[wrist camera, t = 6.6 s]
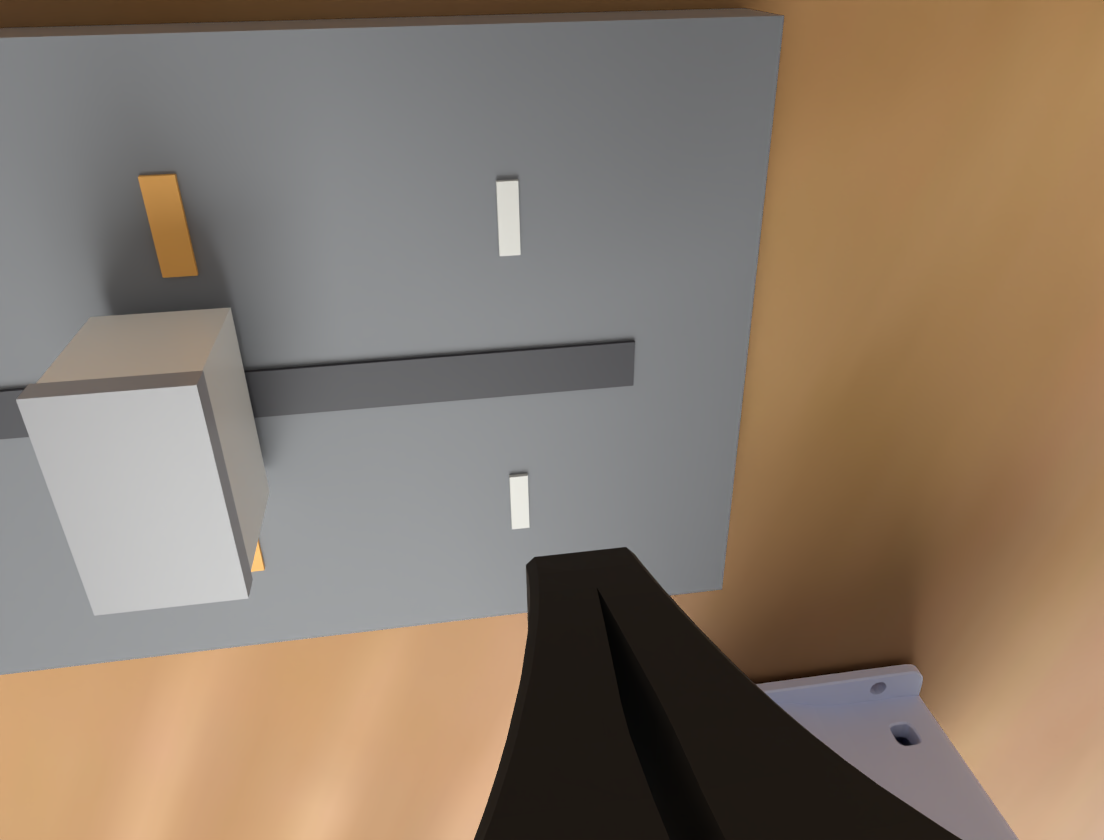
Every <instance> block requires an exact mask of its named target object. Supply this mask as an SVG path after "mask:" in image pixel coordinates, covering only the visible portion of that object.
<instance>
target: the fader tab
mask: <svg viewBox="0 0 1104 840" xmlns="http://www.w3.org/2000/svg"><path fill="white" fill-rule="evenodd" d="M16 401H17V404H18V407H19V410H20V412H21V415H22V418H23V421H24V423H25V426H26V429H27V432H28V434H29V437H30V440H31V443H32V445H33V448H34V451H35V454H36V456H37V459H38V462H39V465H40V467H41V470H42V473H43V476H44V478H45V481H46V484H47V487H48V489H49V492H50V495H51V498H52V500H53V503H54V506H55V509H56V511H57V514H58V517H59V520H60V522H61V525H62V528H63V531H64V533H65V536H66V539H67V542H68V544H69V547H70V550H71V553H72V555H73V558H74V561H75V564H76V566H77V569H78V572H79V575H80V577H81V580H82V583H83V586H84V588H85V591H86V594H87V597H88V599H89V602H90V605H91V608H92V610H93V613H94V616H96V615H105V614H114V613H123V612H132V611H141V610H150V609H159V608H168V607H176V606H185V605H194V604H203V603H212V602H221V601H230V600H239V599H248V598H249V594H250V590H251V586H252V581H253V578H252V574H251V569H252V564H253V560H254V556H255V551H256V547H257V543H258V538H259V534H260V530H261V526H262V521H263V517H264V513H265V508H266V504H267V500H268V495H269V487H268V482H267V477H266V472H265V468H264V463H263V458H262V453H261V449H260V444H259V439H258V435H257V430H256V425H255V420H254V416H253V411H252V406H251V401H250V397H249V392H248V387H247V382H246V378H245V373H244V368H243V364H242V359H241V354H240V349H239V345H238V340H237V335H236V330H235V326H234V321H233V316H232V312H231V307H230V308H215V309H201V310H186V311H172V312H157V313H143V314H128V315H113V316H99V317H90V318H89V319H88V320H87V322H86V323H85V324H84V325H83V327H82V328H81V329H80V330H79V331H78V333H77V334H76V335H75V336H74V338H73V339H72V340H71V341H70V343H69V344H68V345H67V346H66V347H65V349H64V350H63V351H62V352H61V354H60V355H59V356H58V357H57V358H56V360H55V361H54V362H53V363H52V365H51V366H50V367H49V368H48V369H47V371H46V372H45V373H44V374H43V376H42V377H41V378H40V379H39V381H38V382H37V383H36V384H28V386H27V387H26V388H25V389H24V390H23V392H22V393H21V394H20V395H19V396H18V398H17V399H16Z"/></svg>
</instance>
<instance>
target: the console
mask: <svg viewBox="0 0 1104 840" xmlns="http://www.w3.org/2000/svg"><path fill="white" fill-rule="evenodd" d="M783 23H784V16H783V15H778V14H773V13H768V12H762V11H757V10H752V9H747V8H727V9H689V10H652V11H615V12H578V13H540V14H503V15H466V16H429V17H391V18H354V19H317V20H280V21H242V22H205V23H168V24H130V25H93V26H56V27H19V28H0V675H3V674H12V673H20V672H29V671H37V670H46V669H54V668H62V667H71V666H79V665H88V664H96V663H105V662H113V661H122V660H130V659H138V658H147V657H155V656H164V655H172V654H181V653H189V652H198V651H206V650H214V649H223V648H231V647H240V646H248V645H257V644H265V643H274V642H282V641H290V640H299V639H307V638H316V637H324V636H333V635H341V634H350V633H358V632H366V631H375V630H383V629H392V628H400V627H409V626H417V625H426V624H434V623H442V622H451V621H459V620H468V619H476V618H485V617H493V616H502V615H510V614H518V613H527V585H526V564H527V563H528V562H529V561H531V560H532V559H533V558H534V557H538V556H547V555H556V554H566V553H575V552H584V551H593V550H602V549H611V548H620V547H627V548H628V549H629V550H631V551H632V552H633V553H634V554H635V555H636V556H637V558H638V559H639V560H640V561H641V563H642V564H643V565H644V566H645V567H646V569H647V570H648V571H649V572H650V574H651V575H652V576H653V577H654V578H655V579H656V581H657V582H658V583H659V584H660V585H661V587H662V588H663V589H664V590H665V591H666V592H667V593H668V595H669V596H670V595H679V594H687V593H696V592H704V591H713V590H721V589H722V585H723V576H724V566H725V557H726V548H727V539H728V530H729V520H730V511H731V502H732V493H733V483H734V474H735V465H736V456H737V447H738V437H739V428H740V419H741V410H742V401H743V391H744V382H745V373H746V364H747V355H748V345H749V336H750V327H751V318H752V309H753V299H754V290H755V281H756V272H757V263H758V253H759V244H760V235H761V226H762V216H763V207H764V198H765V189H766V180H767V170H768V161H769V152H770V143H771V134H772V124H773V115H774V106H775V97H776V88H777V78H778V69H779V60H780V51H781V42H782V32H783ZM230 307H231V312H232V316H233V321H234V326H235V330H236V335H237V340H238V345H239V349H240V354H241V359H242V364H243V368H244V373H245V378H246V382H247V387H248V392H249V397H250V401H251V406H252V411H253V416H254V420H255V425H256V430H257V435H258V439H259V444H260V449H261V453H262V458H263V463H264V468H265V472H266V477H267V482H268V487H269V495H268V500H267V504H266V508H265V513H264V517H263V521H262V526H261V530H260V534H259V538H258V543H257V547H256V551H255V556H254V560H253V564H252V569H251V574H252V578H253V581H252V586H251V590H250V594H249V598H248V599H239V600H230V601H221V602H212V603H203V604H194V605H185V606H176V607H168V608H159V609H150V610H141V611H132V612H123V613H114V614H105V615H96V616H94V613H93V610H92V608H91V605H90V602H89V599H88V597H87V594H86V591H85V588H84V586H83V583H82V580H81V577H80V575H79V572H78V569H77V566H76V564H75V561H74V558H73V555H72V553H71V550H70V547H69V544H68V542H67V539H66V536H65V533H64V531H63V528H62V525H61V522H60V520H59V517H58V514H57V511H56V509H55V506H54V503H53V500H52V498H51V495H50V492H49V489H48V487H47V484H46V481H45V478H44V476H43V473H42V470H41V467H40V465H39V462H38V459H37V456H36V454H35V451H34V448H33V445H32V443H31V440H30V437H29V434H28V432H27V429H26V426H25V423H24V421H23V418H22V415H21V412H20V410H19V407H18V404H17V401H16V399H17V398H18V396H19V395H20V394H21V393H22V392H23V390H24V389H25V388H26V387H27V386H28V384H36V383H37V382H38V381H39V379H40V378H41V377H42V376H43V374H44V373H45V372H46V371H47V369H48V368H49V367H50V366H51V365H52V363H53V362H54V361H55V360H56V358H57V357H58V356H59V355H60V354H61V352H62V351H63V350H64V349H65V347H66V346H67V345H68V344H69V343H70V341H71V340H72V339H73V338H74V336H75V335H76V334H77V333H78V331H79V330H80V329H81V328H82V327H83V325H84V324H85V323H86V322H87V320H88V319H89V318H90V317H99V316H113V315H128V314H143V313H157V312H172V311H186V310H201V309H215V308H230Z"/></svg>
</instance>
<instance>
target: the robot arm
mask: <svg viewBox="0 0 1104 840" xmlns="http://www.w3.org/2000/svg"><path fill="white" fill-rule="evenodd" d="M526 585H527V612H528V635H527V642H526V648H525V655H524V662H523V668H522V675H521V680H520V685H519V689H518V694H517V698H516V702H515V706H514V711H513V715H512V719H511V723H510V728H509V732H508V736H507V740H506V743H505V747H504V750H503V754H502V758H501V761H500V764H499V768H498V771H497V774H496V778H495V781H494V784H493V787H492V790H491V793H490V796H489V799H488V802H487V805H486V808H485V811H484V814H483V817H482V819H481V822H480V825H479V827H478V830H477V833H476V835H475V838H474V840H1019V839H1018V838H1017V836H1016V835H1015V833H1014V832H1013V831H1012V829H1011V828H1010V826H1009V825H1008V823H1007V822H1006V820H1005V819H1004V818H1003V816H1002V815H1001V813H1000V812H999V810H998V809H997V807H996V806H995V805H994V803H993V802H992V800H991V799H990V797H989V796H988V794H987V793H986V792H985V790H984V789H983V787H982V786H981V784H980V783H979V781H978V780H977V779H976V777H975V776H974V774H973V773H972V771H971V770H970V768H969V767H968V766H967V764H966V763H965V761H964V760H963V758H962V757H961V755H960V754H959V753H958V751H957V750H956V748H955V747H954V745H953V744H952V742H951V741H950V740H949V738H948V737H947V735H946V734H945V732H944V731H943V729H942V728H941V727H940V725H939V724H938V722H937V721H936V719H935V718H934V716H933V715H932V714H931V712H930V711H929V709H928V708H927V706H926V705H925V703H924V702H923V701H922V699H921V698H920V696H919V693H920V689H921V686H922V682H923V676H922V675H921V673H920V672H919V670H918V669H917V667H916V666H914V665H912V664H903V665H895V666H888V667H880V668H873V669H865V670H858V671H850V672H843V673H835V674H828V675H820V676H813V677H806V678H798V679H791V680H783V681H776V682H768V683H761V684H755V683H754V682H752V681H751V680H750V679H749V678H748V677H747V676H746V675H745V674H744V673H743V672H742V671H741V670H740V669H739V668H738V667H737V666H736V665H735V664H734V663H733V662H732V661H731V660H730V659H729V658H728V657H727V656H726V655H725V654H724V653H723V652H722V651H721V650H720V649H719V648H718V647H717V646H716V645H715V644H714V643H713V642H712V641H711V640H710V639H709V638H708V637H707V636H706V635H705V634H704V633H703V632H702V631H701V630H700V629H699V628H698V627H697V626H696V624H695V623H694V622H693V621H692V620H691V619H690V618H689V617H688V616H687V615H686V614H685V613H684V611H683V610H682V609H681V608H680V607H679V606H678V605H677V604H676V602H675V601H674V600H673V599H672V598H671V597H670V596H669V595H668V593H667V592H666V591H665V590H664V589H663V588H662V587H661V585H660V584H659V583H658V582H657V581H656V579H655V578H654V577H653V576H652V575H651V574H650V572H649V571H648V570H647V569H646V567H645V566H644V565H643V564H642V563H641V561H640V560H639V559H638V558H637V556H636V555H635V554H634V553H633V552H632V551H631V550H629V549H628V548H627V547H620V548H611V549H602V550H593V551H584V552H575V553H566V554H556V555H547V556H538V557H534V558H533V559H532V560H531V561H529V562H528V563H527V564H526Z"/></svg>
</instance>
